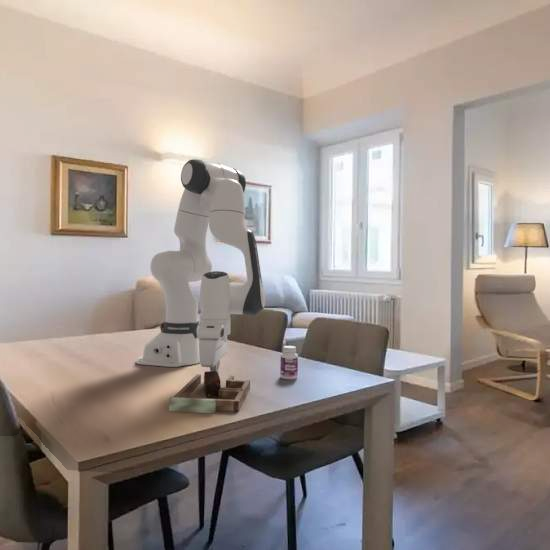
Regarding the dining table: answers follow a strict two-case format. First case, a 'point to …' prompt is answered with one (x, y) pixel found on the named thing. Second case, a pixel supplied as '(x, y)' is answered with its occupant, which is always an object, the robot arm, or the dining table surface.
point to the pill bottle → (289, 363)
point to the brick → (211, 383)
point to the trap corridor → (226, 401)
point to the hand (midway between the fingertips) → (214, 375)
